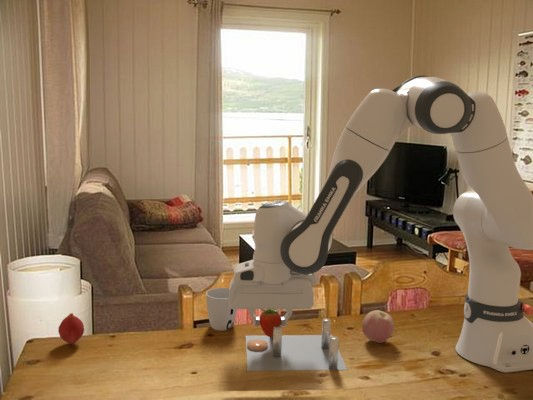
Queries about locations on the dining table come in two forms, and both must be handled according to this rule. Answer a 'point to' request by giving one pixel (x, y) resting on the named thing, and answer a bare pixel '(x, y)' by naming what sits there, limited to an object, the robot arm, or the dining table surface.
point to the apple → (378, 326)
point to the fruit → (269, 321)
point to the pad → (257, 345)
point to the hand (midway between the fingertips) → (270, 325)
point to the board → (291, 354)
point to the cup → (220, 309)
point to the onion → (71, 329)
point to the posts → (326, 343)
